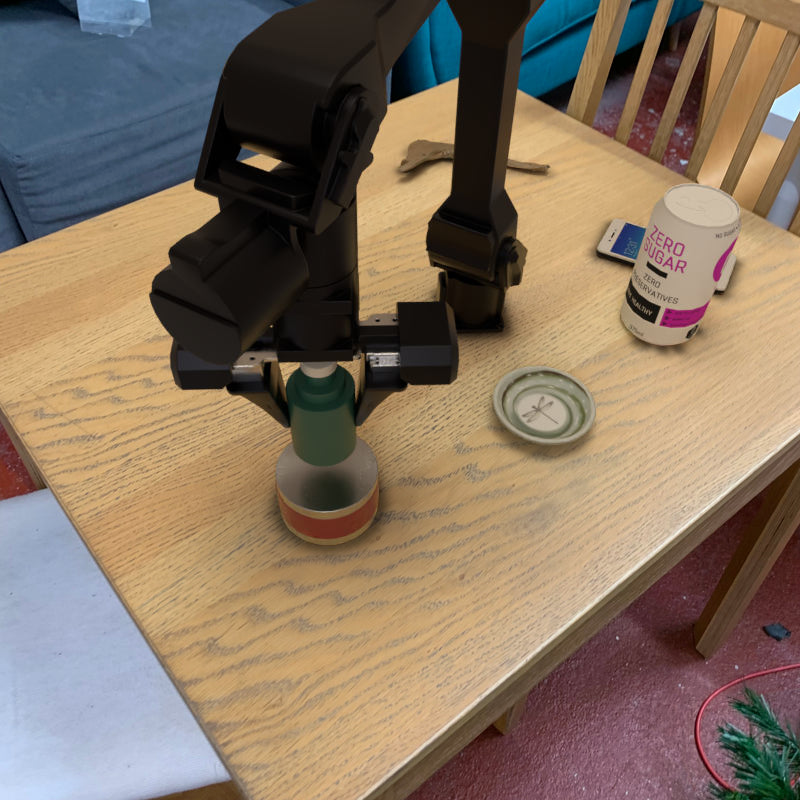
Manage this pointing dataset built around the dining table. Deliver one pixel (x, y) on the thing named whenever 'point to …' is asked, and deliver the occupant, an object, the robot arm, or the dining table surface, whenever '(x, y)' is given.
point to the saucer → (544, 405)
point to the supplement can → (680, 263)
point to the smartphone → (626, 244)
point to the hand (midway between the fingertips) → (323, 422)
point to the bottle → (322, 412)
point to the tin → (328, 495)
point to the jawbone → (448, 156)
